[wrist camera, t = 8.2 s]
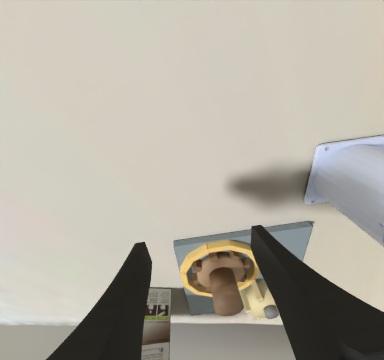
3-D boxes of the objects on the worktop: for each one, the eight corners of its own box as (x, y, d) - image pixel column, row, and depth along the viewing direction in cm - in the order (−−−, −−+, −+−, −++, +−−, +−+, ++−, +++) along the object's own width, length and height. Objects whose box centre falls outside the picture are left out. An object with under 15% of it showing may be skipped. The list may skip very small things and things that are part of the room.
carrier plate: (307, 221, 25) (335, 250, 21) (288, 295, 34) (304, 326, 30) (173, 240, 25) (173, 274, 21) (190, 309, 34) (192, 343, 30)
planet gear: (241, 240, 25) (257, 280, 20) (252, 275, 29) (267, 315, 24) (182, 258, 25) (184, 301, 20) (201, 289, 30) (206, 331, 25)
